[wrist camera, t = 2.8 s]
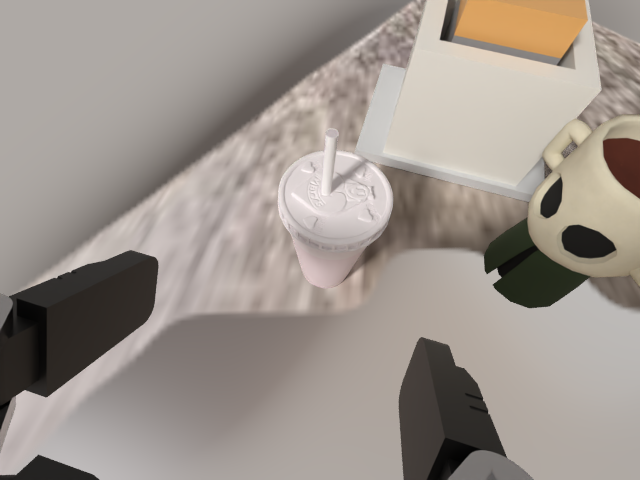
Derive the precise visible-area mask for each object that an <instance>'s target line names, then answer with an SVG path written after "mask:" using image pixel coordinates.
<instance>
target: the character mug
mask: <svg viewBox="0 0 640 480" xmlns="http://www.w3.org/2000/svg"><path fill="white" fill-rule="evenodd" d="M572 141H574V142H575V143H576V144H577V145H578V147H577V148H576V149H575V150H574V151H573V152H572V153H571V154H570V155H569V156H567V157H566V158H565V157H564V156H563V154H562V152H563V151H564V150H565V149H566V147H567V146H568V145H569V144H570V143H571V142H572ZM542 156H543V159H544V161H545V163H546V164H547V165H548V167H549V168H550V169H551V171H552V173H551V174H550V175H549V176H548V177H547V178H546V179H545V180H544V181H543V182H542V183H541V184H540V185H539V186H538V187H537V188H536V190H535V192H534V194H533V196H532V198H531V200H530V201H529V203H528V218H526V219H525V220H523V221H521V222H520V223H518V224H517V225H515V226H514V227H512V228H510V229H509V230H507V231H506V232H504V233H503V234H502V235H500V236H499V237H498V238H496V239H495V240H494V241H492V242H491V243H490V245H489V247H488V249H487V251H486V253H485V255H484V264H485V272H486V273H487V274H488V273H490V272H491V271H493V270H494V269H496V268H497V269H498V273H499V275H500V276H501V277H502V278H501V279H500V280H498V281H497V282H496V283H494V284H493V286H494V288H495V289H496V290H497V291H498V292H499V293H501V294H502V295H503V296H504V297H505V298H507V299H508V300H509V301H511V302H513V303H516V304H519V305H522V306H524V307H527V308H537V307H548V306H551V305H552V304H553V303H555V302H557V301H558V300H560V299H561V298H563V297H564V296H565V295H567V294H568V293H570V292H571V291H573V290H574V289H575V288H577V287H578V286H579V285H581V284H582V283H583V282H584V281H585V280H587V279H588V278H589V277H590V276H591V277H618V276H629V275H631V277H632V278H633V279H634V281H635V282H636V283H637V285H638V286H639V287H640V114H628V115H619V116H617V117H615V118H613V119H611V120H609V121H607V122H604V123H603V124H602V125H600V126H599V127H598V128H596V129H595V130H594V131H592V130H591V129H590V127H589V126H588V125H587V124H586V123H584V122H582V121H580V120H578V119H576V118H575V119H573V120H572V121H570V122H569V123H567V124H566V125H565V126H564V127H563V128H562V129H561V130H560V132H559V133H558V134H557V135H556V136H555V137H554V138H553V140H552V141H551V142H550V143H549V144H548V145H547V147H546V148H545V149H544V151H543V153H542Z"/></svg>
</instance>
